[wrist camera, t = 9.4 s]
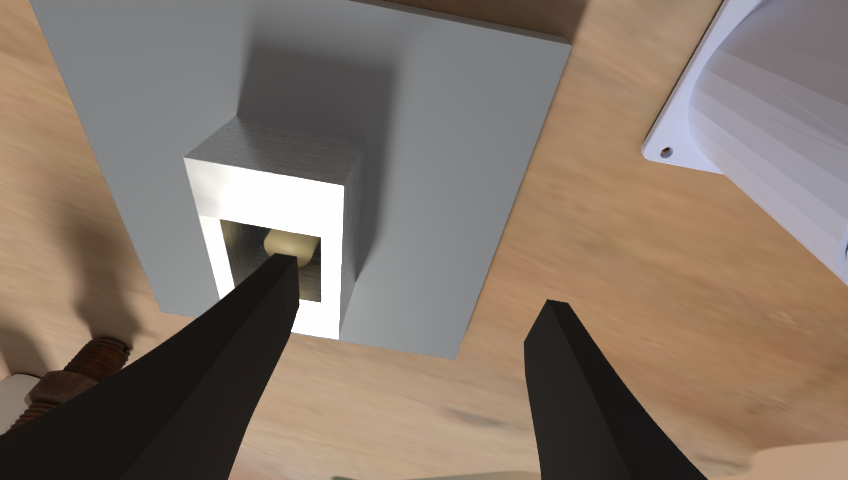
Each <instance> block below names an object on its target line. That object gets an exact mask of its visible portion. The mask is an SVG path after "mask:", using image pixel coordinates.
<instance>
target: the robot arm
mask: <svg viewBox="0 0 848 480" xmlns="http://www.w3.org/2000/svg"><path fill="white" fill-rule="evenodd" d="M667 147H670V148H669V150H668V151H667V152H666V153H664V154H660V153H661V151H662V150H663V149H665V148H667ZM641 153H642V155H643V156H644V157H645V158H646V159H648V160H650V161H656V162H661V163H666V164H671V165H677V166H682V167H687V168H693V169H698V170H703V171H708V172H714V173H719V174H724V175H726V176H727V177H728V178H729V179H730V180H731V181H732V182H734V183H735V184H736V185H737V186H738V187H739V188H740V189H741V190H742V191H744V192H745V193H746V194H747V195H748V196H749V197H750V198H751V199H752V200H753V201H755V202H756V203H757V204H758V205H759V206H760V207H761V208H762V209H763V210H765V211H766V212H767V213H768V214H769V215H770V216H771V217H772V218H773V219H775V220H776V221H777V222H778V223H779V224H780V225H781V226H782V227H783V228H785V229H786V230H787V231H788V232H789V233H790V234H791V235H792V236H793V237H794V238H796V239H797V240H798V241H799V242H800V243H801V244H802V245H803V246H804V247H806V248H807V249H808V250H809V251H810V252H811V253H812V254H813V255H814V256H816V257H817V258H818V259H819V260H820V261H821V262H822V263H823V264H824V265H826V266H827V267H828V268H829V269H830V270H831V271H832V272H833V273H834V274H835V275H837V276H838V277H839V278H840V279H841V280H842V281H843V282H844V283H845V284H847V285H848V0H724V2H723V4H722V5H721V7H720V9H719V11H718V12H717V14H716V16H715V18H714V19H713V21H712V23H711V25H710V27H709V28H708V30H707V32H706V34H705V35H704V37H703V39H702V41H701V42H700V44H699V46H698V48H697V49H696V51H695V53H694V55H693V57H692V58H691V60H690V62H689V64H688V65H687V67H686V69H685V71H684V72H683V74H682V76H681V78H680V79H679V81H678V83H677V85H676V87H675V88H674V90H673V92H672V94H671V95H670V97H669V99H668V101H667V102H666V104H665V106H664V108H663V110H662V111H661V113H660V115H659V117H658V118H657V120H656V122H655V124H654V125H653V127H652V129H651V131H650V132H649V134H648V136H647V138H646V140H645V141H644V143H643V145H642V147H641ZM299 308H300V291H299V276H298V261H297V256H291V255H285V254H280V253H274V254H273V255H271V256H270V257H269V258H268V259H267V260H266V261H265V262H264V263H262V264H261V265H260V266H259V267H258V268H257V269H256V270H255V271H254V272H252V273H251V274H250V275H249V276H248V277H247V278H246V279H244V280H243V281H242V282H241V283H240V284H239V285H237V286H236V287H235V288H234V289H233V290H232V291H230V292H229V293H228V294H227V295H225V296H224V297H223V298H222V299H221V300H219V301H218V302H217V303H216V304H215V305H213V306H212V307H211V308H210V309H208V310H207V311H206V312H204V313H203V314H202V315H200V316H199V317H198V318H196V319H195V320H194V321H192V322H191V323H190V324H188V325H187V326H186V327H184V328H183V329H182V330H180V331H179V332H178V333H176V334H175V335H173V336H172V337H171V338H169V339H168V340H166V341H165V342H163V343H162V344H160V345H159V346H157V347H156V348H155V349H153V350H151V351H150V352H148V353H147V354H145V355H144V356H142V357H141V358H139V359H138V360H136V361H134V362H133V363H131V364H130V365H128V366H126V367H125V368H123V369H121V370H120V371H118V372H116V373H115V374H113V375H111V376H110V377H108V378H106V379H105V380H103V381H102V382H100V383H98V384H96V385H95V386H93V387H91V388H89V389H88V390H86V391H84V392H82V393H80V394H79V395H77V396H75V397H73V398H71V399H69V400H67V401H66V402H64V403H62V404H60V405H58V406H56V407H54V408H52V409H50V410H49V411H47V412H45V413H43V414H41V415H39V416H37V417H35V418H33V419H31V420H30V421H28V422H26V423H24V424H22V425H20V426H18V427H16V428H14V429H12V430H10V431H8V432H6V433H4V434H2V435H0V480H228V478H229V475H230V472H231V469H232V466H233V463H234V461H235V458H236V455H237V453H238V450H239V447H240V445H241V442H242V439H243V437H244V434H245V431H246V429H247V426H248V424H249V421H250V419H251V417H252V415H253V412H254V410H255V408H256V406H257V404H258V402H259V400H260V397H261V395H262V393H263V391H264V389H265V387H266V385H267V383H268V381H269V379H270V377H271V375H272V373H273V371H274V369H275V366H276V364H277V362H278V360H279V358H280V356H281V354H282V352H283V350H284V348H285V345H286V343H287V341H288V339H289V337H290V334H291V331H292V328H293V325H294V323H295V320H296V317H297V314H298V311H299ZM524 361H525V377H526V383H527V389H528V395H529V401H530V407H531V413H532V419H533V425H534V430H535V436H536V442H537V448H538V454H539V461H540V469H541V480H708V479H707V478H706V477H705V476H704V475H703V474H702V473H701V472H700V471H699V470H698V469H697V468H696V467H695V466H694V465H693V464H692V463H691V462H690V461H689V460H688V459H687V457H686V456H685V455H684V454H683V453H682V452H681V451H680V450H679V449H678V448H677V447H676V445H675V444H674V443H673V442H672V441H671V440H670V439H669V438H668V436H667V435H666V434H665V433H664V432H663V431H662V430H661V428H660V427H659V426H658V425H657V424H656V423H655V422H654V420H653V419H652V418H651V417H650V416H649V414H648V413H647V412H646V411H645V409H644V408H643V407H642V406H641V404H640V403H639V402H638V401H637V399H636V398H635V397H634V396H633V394H632V393H631V392H630V390H629V389H628V388H627V387H626V385H625V384H624V383H623V381H622V380H621V379H620V377H619V376H618V375H617V373H616V372H615V370H614V369H613V368H612V366H611V365H610V363H609V362H608V361H607V359H606V358H605V356H604V355H603V354H602V352H601V351H600V349H599V348H598V346H597V345H596V343H595V342H594V341H593V339H592V338H591V336H590V335H589V333H588V332H587V330H586V329H585V327H584V326H583V324H582V323H581V321H580V320H579V318H578V317H577V315H576V314H575V312H574V311H573V309H572V308H571V307H570V305H569V304H568V303H566V302H560V301H554V300H548V299H547V301H546V302H545V304H544V306H543V308H542V310H541V312H540V313H539V315H538V317H537V319H536V321H535V323H534V324H533V326H532V328H531V330H530V332H529V334H528V335H527V337H526V339H525V341H524Z"/></svg>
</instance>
